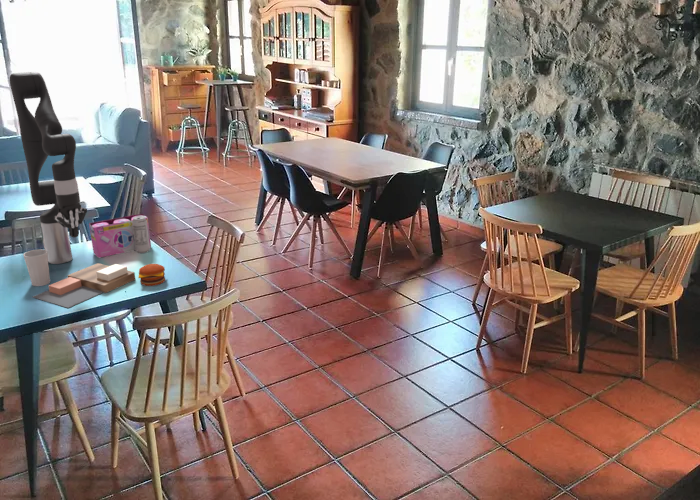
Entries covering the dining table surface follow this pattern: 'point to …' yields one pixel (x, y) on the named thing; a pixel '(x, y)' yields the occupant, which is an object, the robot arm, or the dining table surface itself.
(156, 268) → the hamburger
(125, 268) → the cream card box
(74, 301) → the slate mat
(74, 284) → the terracotta card box
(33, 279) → the cup
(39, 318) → the dining table surface
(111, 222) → the gum box
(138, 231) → the energy drink can
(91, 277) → the walnut board
